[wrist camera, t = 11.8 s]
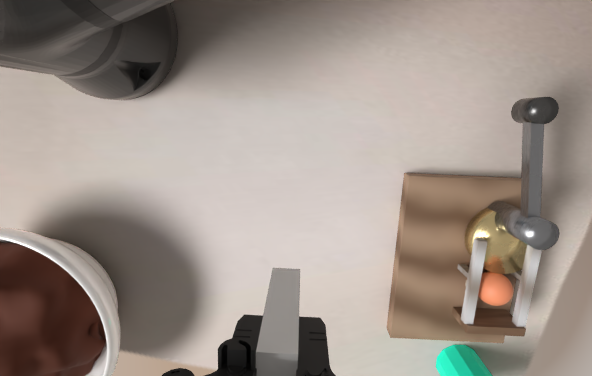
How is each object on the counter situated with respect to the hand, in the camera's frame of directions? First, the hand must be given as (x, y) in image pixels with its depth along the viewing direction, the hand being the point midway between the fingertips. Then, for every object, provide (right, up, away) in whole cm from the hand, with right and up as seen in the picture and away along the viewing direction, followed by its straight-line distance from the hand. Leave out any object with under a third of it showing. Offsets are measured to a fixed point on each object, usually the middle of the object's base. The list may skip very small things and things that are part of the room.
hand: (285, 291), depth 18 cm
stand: (+21, -4, +25) cm, 33 cm away
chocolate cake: (-32, -9, +28) cm, 43 cm away
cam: (+25, +5, +21) cm, 33 cm away
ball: (+25, -6, +24) cm, 35 cm away
